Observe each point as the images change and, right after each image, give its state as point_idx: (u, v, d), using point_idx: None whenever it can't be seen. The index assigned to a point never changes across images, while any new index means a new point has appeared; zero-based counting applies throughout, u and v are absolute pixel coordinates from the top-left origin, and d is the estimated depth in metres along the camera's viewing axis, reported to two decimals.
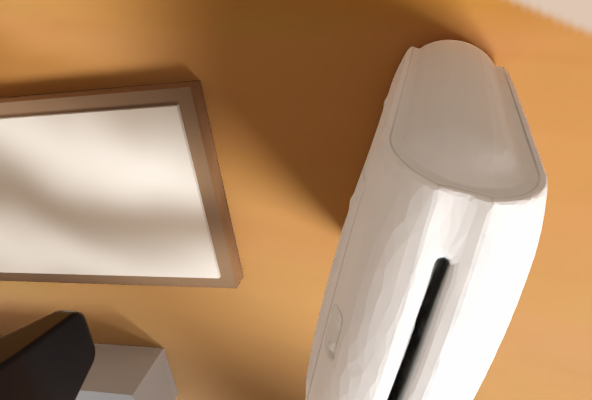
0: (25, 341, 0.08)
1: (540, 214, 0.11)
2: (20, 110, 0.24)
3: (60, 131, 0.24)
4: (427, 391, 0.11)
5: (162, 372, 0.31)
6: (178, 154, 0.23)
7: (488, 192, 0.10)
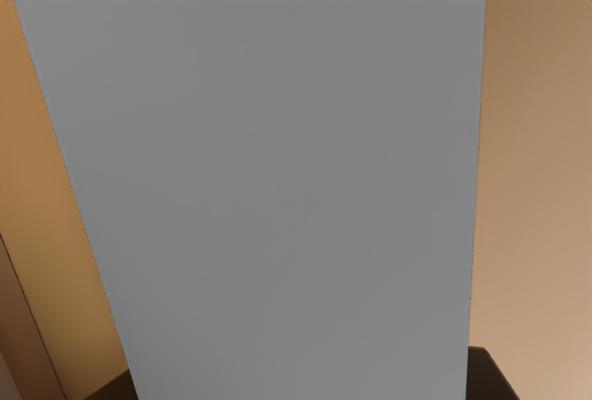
0: None
1: None
2: None
3: None
4: None
5: None
6: None
7: None
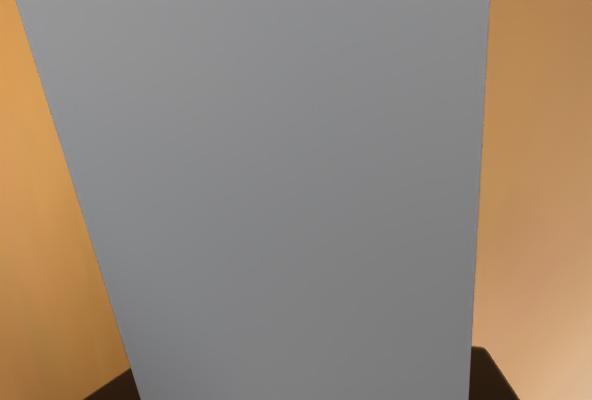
0: None
1: None
2: None
3: None
4: None
5: None
6: None
7: None
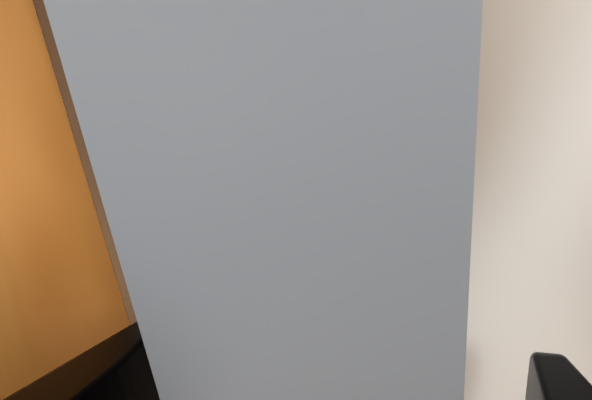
0: (118, 351, 0.08)
1: None
2: None
3: None
4: None
5: None
6: None
7: None
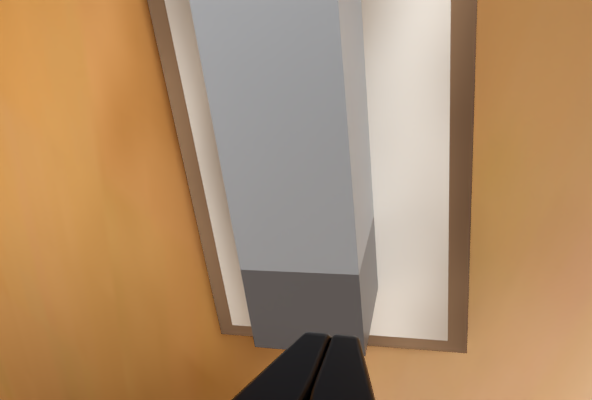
0: (301, 371, 0.07)
1: None
2: (174, 68, 0.18)
3: (188, 5, 0.17)
4: None
5: None
6: None
7: None
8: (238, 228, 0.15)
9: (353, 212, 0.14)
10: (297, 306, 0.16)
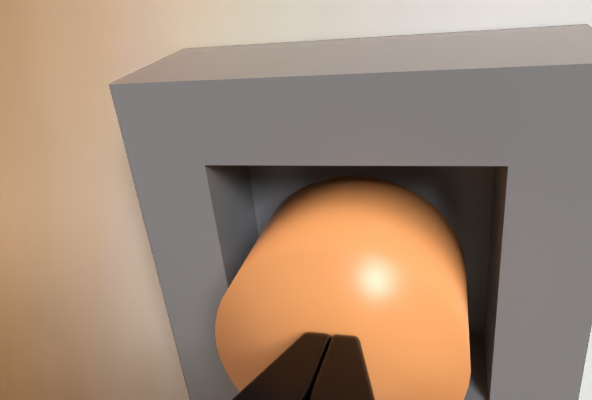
0: (301, 371, 0.07)
1: None
2: None
3: None
4: None
5: None
6: None
7: None
8: None
9: None
10: None
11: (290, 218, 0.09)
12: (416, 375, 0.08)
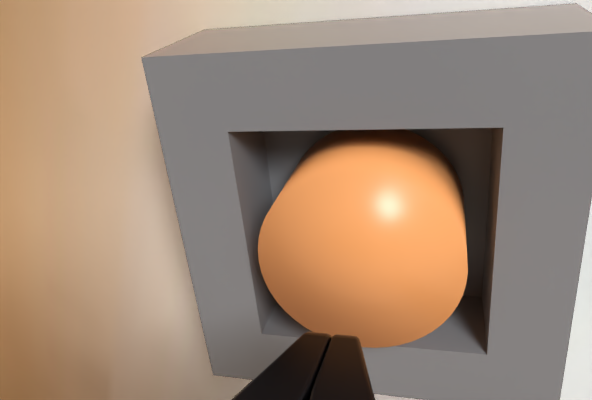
0: (301, 371, 0.07)
1: None
2: None
3: None
4: None
5: None
6: None
7: None
8: None
9: None
10: None
11: (319, 154, 0.11)
12: (423, 277, 0.10)
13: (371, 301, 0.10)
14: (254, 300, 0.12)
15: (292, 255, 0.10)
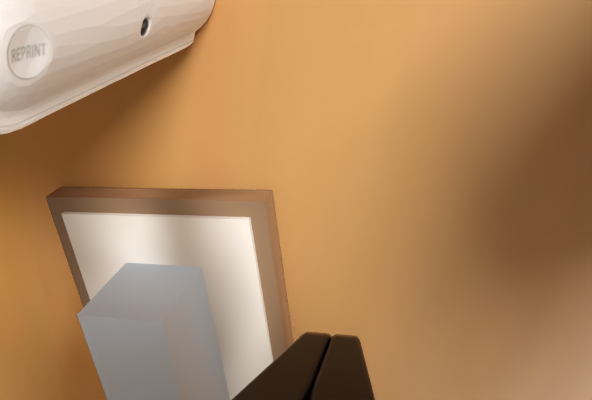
0: (301, 371, 0.07)
1: None
2: None
3: None
4: None
5: (141, 274, 0.22)
6: (107, 225, 0.23)
7: None
8: None
9: None
10: None
11: None
12: None
13: None
14: None
15: None
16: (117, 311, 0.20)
